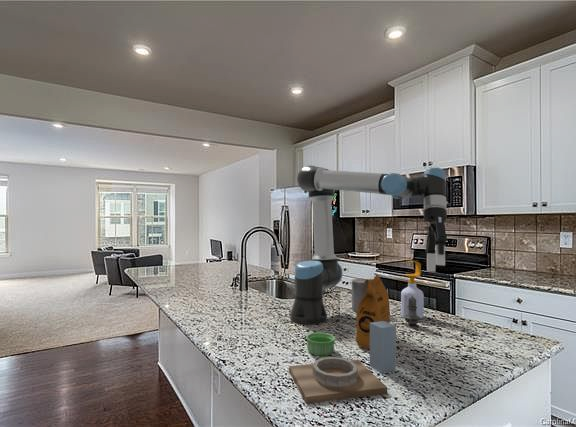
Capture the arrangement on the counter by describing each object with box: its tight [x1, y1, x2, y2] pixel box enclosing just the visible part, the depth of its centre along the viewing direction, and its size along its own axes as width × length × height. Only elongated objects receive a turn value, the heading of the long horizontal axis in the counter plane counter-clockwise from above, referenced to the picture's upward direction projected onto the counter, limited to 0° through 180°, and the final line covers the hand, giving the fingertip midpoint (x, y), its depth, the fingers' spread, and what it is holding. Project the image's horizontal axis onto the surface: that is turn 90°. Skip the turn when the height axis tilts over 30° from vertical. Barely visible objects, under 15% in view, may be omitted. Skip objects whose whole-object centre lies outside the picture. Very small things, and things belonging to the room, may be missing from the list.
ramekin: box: [305, 332, 336, 357], centre depth 104 cm, size 9×9×4 cm
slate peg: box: [369, 321, 397, 374], centre depth 93 cm, size 5×5×12 cm
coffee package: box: [355, 275, 391, 350], centre depth 111 cm, size 10×12×22 cm
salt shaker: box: [403, 295, 421, 329], centre depth 130 cm, size 6×6×12 cm
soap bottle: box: [400, 258, 425, 320], centre depth 143 cm, size 9×9×25 cm
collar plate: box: [288, 356, 388, 405], centre depth 84 cm, size 16×20×4 cm
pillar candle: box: [351, 277, 368, 313], centre depth 152 cm, size 10×10×15 cm
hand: (435, 268), depth 113 cm, fingers open, 13 cm apart
